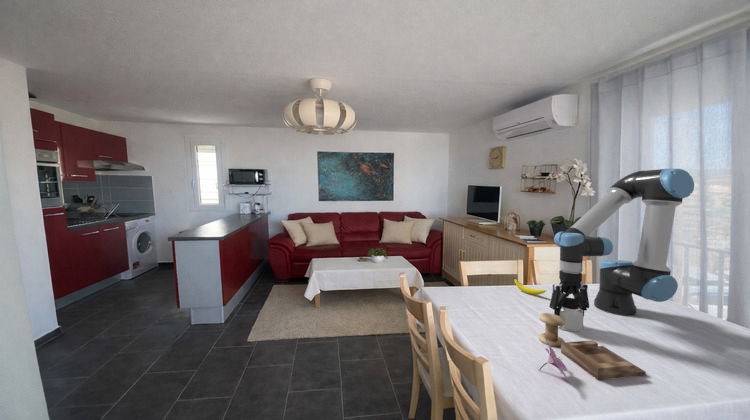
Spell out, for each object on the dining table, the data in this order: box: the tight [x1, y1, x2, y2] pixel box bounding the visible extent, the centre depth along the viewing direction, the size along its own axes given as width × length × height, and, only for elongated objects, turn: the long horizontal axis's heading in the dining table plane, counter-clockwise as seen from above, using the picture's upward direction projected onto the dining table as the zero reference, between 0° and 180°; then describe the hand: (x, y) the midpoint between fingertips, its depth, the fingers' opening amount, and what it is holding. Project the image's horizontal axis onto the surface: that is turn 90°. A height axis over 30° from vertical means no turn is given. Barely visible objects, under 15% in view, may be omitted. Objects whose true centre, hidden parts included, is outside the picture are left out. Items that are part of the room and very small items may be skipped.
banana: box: [513, 277, 547, 295], centre depth 149 cm, size 3×19×6 cm, turn 26°
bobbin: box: [538, 312, 565, 348], centre depth 102 cm, size 8×8×9 cm
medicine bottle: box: [560, 296, 584, 333], centre depth 112 cm, size 7×7×12 cm
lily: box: [538, 336, 570, 384], centre depth 84 cm, size 12×12×10 cm
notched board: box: [560, 339, 647, 381], centre depth 89 cm, size 16×14×4 cm
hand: (568, 324), depth 113 cm, fingers closed on medicine bottle, 8 cm apart
